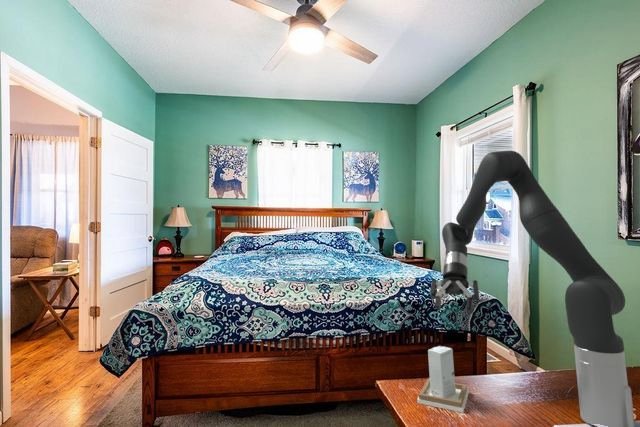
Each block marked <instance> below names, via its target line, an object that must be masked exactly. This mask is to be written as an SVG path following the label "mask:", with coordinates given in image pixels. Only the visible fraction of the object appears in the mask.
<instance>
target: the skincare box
mask: <svg viewBox="0 0 640 427" xmlns="http://www.w3.org/2000/svg"><path fill="white" fill-rule="evenodd" d="M453 352H454V350H453V348H451V347H447V346H443V345H438V346H434V347H432V348H430V349H428V350H427V353H428V354H427V356H428V358H427V360H428V372H429V374H428V375H429V378H430V389H431V394H432V395H434V396H437V397H442V398H447V397H449V396H451V395H453V394H455V393H456V389H455V383H456V379H455V376H456V375H455V367H454V366H455V365H454V353H453Z"/></svg>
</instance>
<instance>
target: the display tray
mask: <svg viewBox="0 0 640 427" xmlns="http://www.w3.org/2000/svg"><path fill="white" fill-rule="evenodd" d="M455 389H456V393H455V394H453V395H451V396H449V397H447V398H442V397H437V396H434V395H432V394H431V389H430V377H428V378H427V379H426V381H425V383H424V385H423V386H422V389H421V390H420V391H419V393H418V396H417V404H420V405H426V406H429V407H435V408H439V409H445V410H449V411H454V412H457V413H458V412H459V413H462V414H463V413H464V411H465V407H466V404H467V402H468V398H469V393H470V391H469V388H467V384H464V383H460V382H459V383H457V382H455Z"/></svg>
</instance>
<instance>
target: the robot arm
mask: <svg viewBox="0 0 640 427" xmlns="http://www.w3.org/2000/svg"><path fill="white" fill-rule="evenodd" d="M500 182H501V183H502V182H507V183H508V184H509V185H510V186H511V187H512V189H513V190H514V192H515V193H516V195H517V199H518V203H519V206H518V207H519V210H518V211H519V219H520V223H521V224H522V226H523V227H524V229H525V231H526V232H527V234H528V236H529V237H530V238H531V240H532V241H533V242H534V243H535V245H536V246H538V247H539V248H540V249H541V250H542V251H543V252H544V253H545V254H547V255H548V256H549V257H550V258H552V259H553V260H555V261H556V262H557V263H558V264H559V265H560V266H561V267H562V268H563V269H564V270H565V272H566V273H567V274H568V276H569V277H570V279H571V280H572V283H570V284H569V285H568V286H567V288H566V290H565V294H564V301H565V302H564V305H565V312H566V318H567V325H568V329H569V333H570V335H571V336H572V338H573V345H574V346H573V347H574V348H573V349H574V359H575V370H576V381H577V382H576V383H577V391H578V392H577V393H578V402H579V411H580V412H579V413H580V418H581V420H583V422H585V423H586V424H588V423H591V424H600V425H604V426H608V427H635V426H636V425H635V417H634V416H635V415H634V407H633V405H634V404H633V396H632V389H631V387H630V386H629V382H628V375H627V364H626V356H625V354H626V353H625V344H624V340H623V338H622V337H621V336H620V335H618V334H616V332H615V326H614V319H613V316H615V315H618V314H619V313H620V312H622V311H623V310H624V308H625V305H626V296H625V294H624V291H623V289H622V288H621V287H620V286H619V285H618V283H617V282H616V281H615V280H614V279H613V278H612V277H611V276H610V274H609V273H607V272H606V270H605V269H604V268H603V267H602V266H601V264H599V262H598V261H597V260H596V259H595V258H594V257H593V255H592V254H591V253H590V252H589V251H588V249H587V248H586V246H585V245H584V243H583V242H582V241H581V239H580V238H579V236H578V235H577V234H576V233H575V231H574V230H573V228H572V227H571V226H570V224H569V222H568V221H567V220H566V219H565V217H564V216H563V215H562V213H561V212H560V210H559V209H558V208H557V207H556V205H555V204H554V203H553V202H552V201H551V199H550V197H549V196H548V195H547V194H546V192H545V191H544V189H543V188H542V187H541V185H540V183H539V181H537V179H536V177H535V175H534V174H533V172H532V170H531V168H530V167H529V165H528V163H527V161H526V160H525V159H524V157H523V156H522V154H520V153H519V152H517V151H515V150H500V151H499V150H498V151H492V152H489V153H487V154H486V155H485V156H483V158H482V159H481V161H480V163H479V166H478V168H477V171H476V174H475V177H474V179H473V182H472V185H471V187H470V191H469V192H468V195H467V197H466V200H465V201H464V203H463V205H462V206H461V207H460V209H459V211H458V212H457V214H456V216H455V217H456V218H455V220H456V223H455V222H453V221H452V222H450V221H449V222H447V223H445V224H444V226H443V228H442V229H441V230H442V232H441V235H442V240H443V244H444V247H445V256H444V261H443V270H442V272H443V273H442V280H440V281H437V280H436V279H432V281H431V286H430V290H429V294H430V297H431V299H432V300H434V301H435V302H434V306H435V309H437V311H441V310H442V309H441V308H442V299H443V298H446V297H447V296H448V295H449V296H454V295H456V296H461V295H462V296H463V297H464V299H466V311H467V313H471V311H473V305H474V304H473V303H474V301H476V302H477V301H479V300H480V291H479V283H478V280H475V279H474V280H473V281H472V282H470V281H469V280H468V274H469V273H468V270H469V266H468V265H469V263H468V247H467V245H469V244H471V242H472V240H473V237H474V232H475V229H476V227H477V224H478V222H479V221H480V220H481V218H482V217H483V215H484V213H485V211H486V208H487V194H488V193H489V191H490V189H491V188H492V187H493V186H494V185H496V183H500ZM439 287H440V288H439ZM469 287H470V288H471V290H473V294H471V293H470V291H468V289H469ZM437 289H438V291H437Z"/></svg>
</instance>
